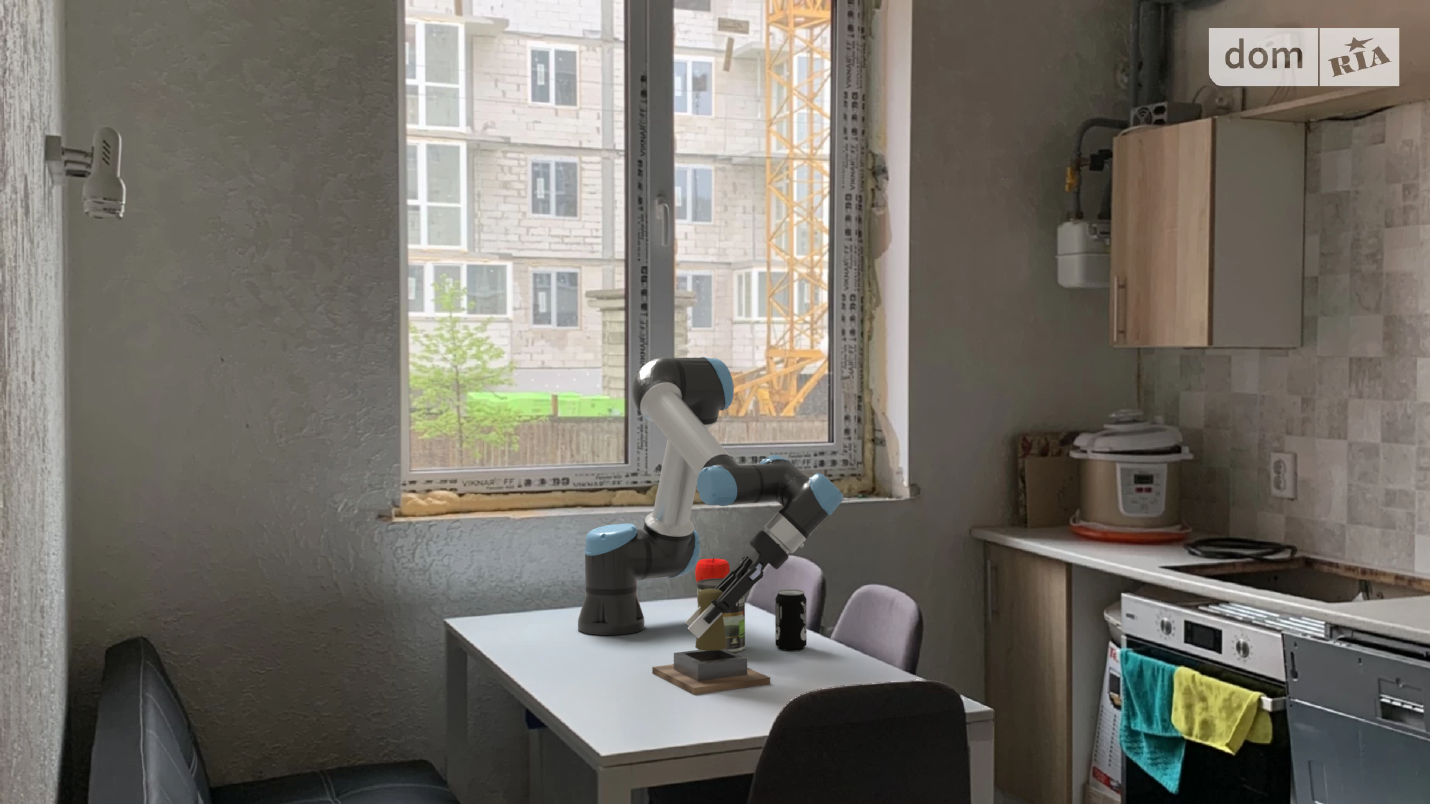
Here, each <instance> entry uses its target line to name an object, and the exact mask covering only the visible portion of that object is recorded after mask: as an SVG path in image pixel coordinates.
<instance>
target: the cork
mask: <svg viewBox="0 0 1430 804" xmlns="http://www.w3.org/2000/svg"><path fill="white" fill-rule="evenodd" d="M722 593H723V592H722V591H721V590H718V589H704V590H701V591H700V592H699V593H698V595H697V597H696V599H697V601H696V602H697V605H698V604H699V605H700V613H699V616H700V615H701V614H702V613H703V612H704V611H705V610H706V609H707V608H708V607H709V606H710V605H711V600H715V601H716V600H717V599H718V598H719V597H720V596H721V595H722ZM713 605H714V604H713ZM714 606H715V605H714ZM694 648H695V649H696V650H699V649H700V650H710V651H712V650H722V649H725V648H727V642H726V635H725V628H724V620H723V613H722V615H721V616H720V617H719V618H718V619H717V620H716V621H715V622H714V623H713V624H712V625H711V626H710V627H709V628H708V629H707V630H706V631H705V632H704V633H703V634H702V635H701V637H700V638H699V639H698V638H697V637H696V639H695V647H694Z"/></svg>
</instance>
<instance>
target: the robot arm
mask: <svg viewBox="0 0 1430 804" xmlns="http://www.w3.org/2000/svg"><path fill="white" fill-rule="evenodd" d="M730 371H731V370H730V369H729V367H728V366H727V365H726V363H724V361H722V360H721V359H719V358H714V357H713V358H711V357H705V356H700V357H662V356H661V357H657V358H654V359H652V360H650V361H648V362H646V363H645V364H644V365H643V366H641V367H640V369H639V370H638V371H637V373H636V374H635V377H634V378H633V382H632V388H631V389H632V390H631V393H632V399H633V403H634V405H635V407H636V408H637V410H638V412H639V413H640V415H642V417H643V418H644V419H645V420H647V421H648V422H652V423H654V424H655V425H656V426H657V427H658V429H659V430H660V432H662V434H663V435H664V436H665V437H666V444H665V445H666V446H665V451H664V455H663V461H662V464H661V465H662V467H661V470H660V475H659V476H660V477H659V480H658V485H657V490H656V496H655V501H654V507H653V511H652V512H651V513H649V514H647V515H646V516H645V519H644V523H643V524H644V525H643V527H642V528H640V529H639V528H637V527H636V525H635V524H633V523H618V524H615V523H614V524H608V525H602V526H599V527H596V528H594V529H591V530H590V531H589V532H587V534H586V536H585V544H584V545H585V546H584V558H585V559H584V562H585V563H584V566H585V569H584V570H585V571H584V574H585V580H584V581H585V597H584V600H583V603H582V607H581V609H580V613H579V615H578V619H577V629H578V631H579V632H581V633H584V634H588V635H597V636H618V635H619V636H620V635H628V634H634V633H638V632H641V631H644V630H645V616H644V612H643V610H642V607H641V604H640V600H639V598H638V594H637V593H638V592H637V591H638V588H637V583H638V582H637V581H644V580H651V579H652V580H653V579H664V578H668V579H669V578H670V579H671V578H675V577H679V576H685V575H687V574H689V573H691V572H692V571H693V570H694V568H696V565H697V563H698V561H699V558H700V553H701V545H700V541H701V540H700V537H699V534H698V531H697V530H696V529H695V525H694V523H693V522H692V521H691V515H692V509H693V505H694V500H695V494H696V489H697V492H698V493H699V499H700V500H701V501H702V502H703V503H704V504H705V505H708V506H720V507H726V506H727V507H728V506H733V505H734V506H735V505H747V504H759V503H760V504H761V503H778V504H779V505H780V506H782V508H781V509H779V510H778V511H777V512H776V513H775V514H774V515H773V516H772V518H771V519H770V520H769V521H768V522H767V523H766V524H765V525H764V530H763V529H762V530H759V531H758V532H757V533H756V534H755V536H753V537H752V538H751V539H750V541H749V545H750V546H751V547H752V549H754V550H755V551H754V552H753V553H752V554H750V555H749V556H748V555H746V556H743V557H741V559H740V560H739V562H738V563H737V564H736V565H735V566H734V567H733V568H732V570H730V573H729V574H728V575H727V576H726V577H725V578H724V579H723V580H722V581H721V582H720V583H719V584H718V585H717V586H716V587H715V588H714V589H718V590H721V591H722V592H723V593H722V595H721V596H720V597H719V598H718V599H717V600H716V601H715V600H711V605H710V606H709V607H708V608H707V609H706V610H705V611H704V612H703V613H702V614H701V615H700V616H699V613H700V607H699V608H698V607H697V609H696V610H695V611H694V612H693V613H692V614H691V615H690V616H689V617H688V618H687V619H686V620H685V621H684V623H685V624H686V625H687V626H688V627H687V629H688V630H689V632H691V633H692V634H693V635H694V636H695V637H696V638H698V639H699V638H700V637H701V635H702V634H703V633H704V632H705V631H706V630H707V629H708V628H709V627H710V626H711V625H712V624H713V623H714V622H715V621H716V620H717V619H718V618H719V617H720V616H721V615H722V613H725V612H726V613H727V612H729V611H730V609H731V608H732V607H733V606H734V605H735V604H736V603H737V602H738V601H739V600H740V599H741V598H742V597H743V596H744V595H745V596H746V594H747V593H748V592H749V591H750V590H751V588H753V586H754V585H755V584H757V583H758V581H760V580H762V579H763V577H764V572H765V571H764V570H765V568H766V567H767V566H768V565H769V564H770V566H771V567H772V568H773V569H775V570H778V569H780V567H782V566H783V564H784V563H786V562H787V561H788V559H789V558H790V556H789V554H793V553H795V552H796V551H797V549H798V548H800V549H801V548H804V547H805V544H804V542H806V540H807V539H809V537H810V536H811V535H812V534H813V533H814V532H815V531H816V530H817V529H818V528H819V527H820V526H821V525H822V524H823V523H824V522H825V521H826V520H827V519H828V518H829V517H830V516H832V515H833V513H834V512H835V510H837V508H838V507H839V505H841V504H842V503H843V500H844V495H843V493H842V491H841V490H840V489H839V487H837V486H836V485H835V484H834V483H833V482H832V481H831V480H830V479H829V478H827V476H825V475H824V474H822V473H821V472H816V473H815V474H813V475H812V476H810V477H809V476H807V475H806V474H805V473H804V472H803V471H801V470H800V469H799V468H798V467H797V466H796V465H795V464H794V463H792V462H791V461H789V459H786V458H784V457H782V456H781V455H776V454H773V455H768V456H767V457H766V458H763V459H761V461H759V462H758V464H739V463H737V462H736V460H735V459H734V458H732V456H731V455H730V454H729V452H727V450H726V449H725V448H724V446H723V445H721V443H720V442H719V441H718V440H717V438H715V436H714V435H713V433H711V432H710V430H709V428H710V427H712V426H713V425H715V424H716V423H717V422H718V417H719V413H720V411H725V410H727V409H729V407H730V406H731V405H732V403H733V400H734V394H735V390H734V389H735V388H734V380H733V377H732V373H731V372H730ZM713 604H714V605H715V606H714V605H713Z"/></svg>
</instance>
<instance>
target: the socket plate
mask: <svg viewBox="0 0 1430 804" xmlns="http://www.w3.org/2000/svg"><path fill="white" fill-rule="evenodd" d="M651 672H652V674H653V675H654V676H655V675H656V676H657V677H659V678H661V679H663V680H665V681H667V682H669V683H670V684H673V685H674V686H676V687H679V688H681V689H682V690H685V691H687V692H688V693H690V694H692V695H700V694H707V693H714V692H721V691H729V690H736V689H742V688H749V687H750V688H751V687H758V686H764V685H765V686H766V685H771V677H770V676H767V675H765V674H763V673H761V672H758V671H757V670H754V669H751V668H750V667H748V657H746V656H744V655H741V654H738V652H732V651H729V650H727V649H722V650H712V651H710V650H699V649H695V650H686V651H679V652H673V664H664V665H658V666H656V665H655V666H652V668H651Z"/></svg>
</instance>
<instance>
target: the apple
mask: <svg viewBox="0 0 1430 804" xmlns="http://www.w3.org/2000/svg"><path fill="white" fill-rule="evenodd" d="M694 571H695V573H694V576H695V582H696V583H697V582H698V581H700V580H704V579H713V578H725V577H726V576H727V575H728V574H729V573H730V572H731V570H730V564H729V562H728V560H727V559H724V558H723V559H721V558H714V557H713V558H703V559H702V558H701V559H699V560H698V561H697V564H696V565H695V570H694Z"/></svg>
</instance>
